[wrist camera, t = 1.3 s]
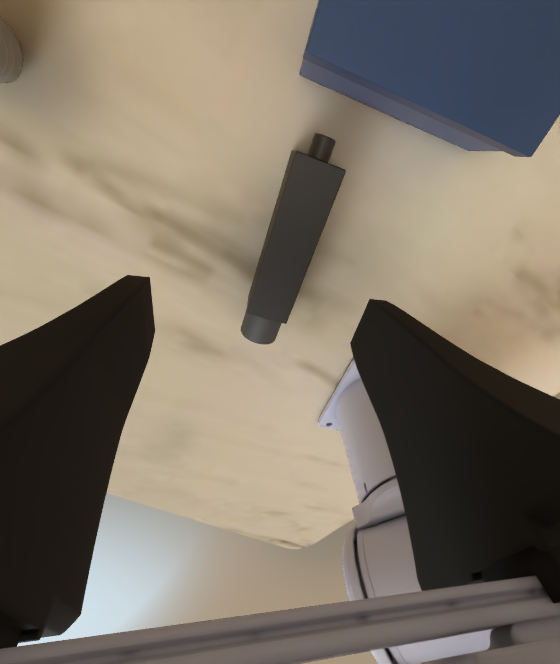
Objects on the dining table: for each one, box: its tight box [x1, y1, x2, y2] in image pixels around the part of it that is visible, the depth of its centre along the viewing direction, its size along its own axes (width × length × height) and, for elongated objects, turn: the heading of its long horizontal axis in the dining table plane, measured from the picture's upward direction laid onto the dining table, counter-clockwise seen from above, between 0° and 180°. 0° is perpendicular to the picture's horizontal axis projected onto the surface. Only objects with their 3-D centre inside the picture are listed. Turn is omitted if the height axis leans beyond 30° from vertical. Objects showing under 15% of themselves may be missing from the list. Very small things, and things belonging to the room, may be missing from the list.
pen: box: [241, 133, 346, 344], centre depth 17 cm, size 12×3×3 cm, turn 162°
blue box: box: [300, 0, 560, 157], centre depth 11 cm, size 10×7×4 cm
